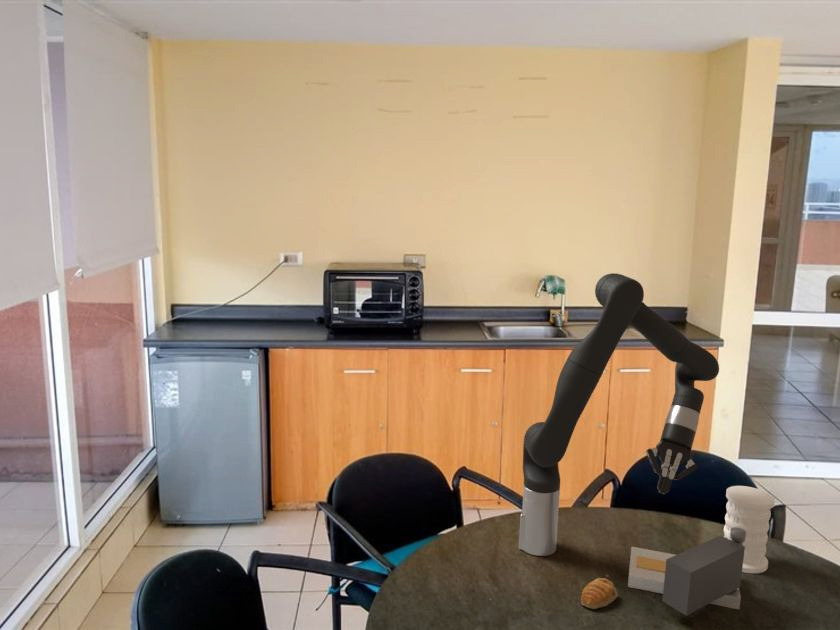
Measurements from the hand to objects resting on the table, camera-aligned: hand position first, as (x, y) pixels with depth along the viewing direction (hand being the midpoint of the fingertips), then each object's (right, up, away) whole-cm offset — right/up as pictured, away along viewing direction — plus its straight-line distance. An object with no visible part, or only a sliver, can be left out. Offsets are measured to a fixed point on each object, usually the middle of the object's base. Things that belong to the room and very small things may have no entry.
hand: (662, 493), depth 164 cm
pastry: (-19, -21, -12) cm, 31 cm away
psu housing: (+3, -20, -4) cm, 21 cm away
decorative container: (+22, -19, +6) cm, 30 cm away
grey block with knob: (+5, -18, -14) cm, 24 cm away
